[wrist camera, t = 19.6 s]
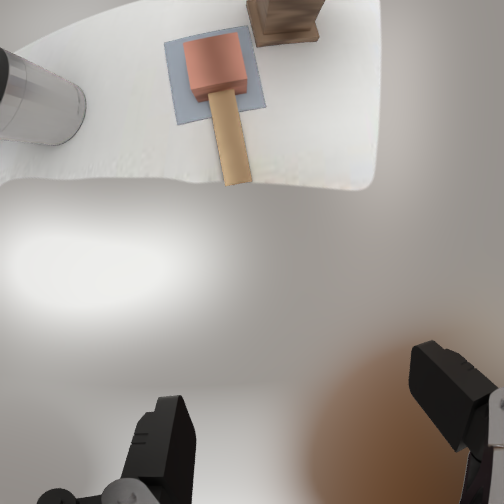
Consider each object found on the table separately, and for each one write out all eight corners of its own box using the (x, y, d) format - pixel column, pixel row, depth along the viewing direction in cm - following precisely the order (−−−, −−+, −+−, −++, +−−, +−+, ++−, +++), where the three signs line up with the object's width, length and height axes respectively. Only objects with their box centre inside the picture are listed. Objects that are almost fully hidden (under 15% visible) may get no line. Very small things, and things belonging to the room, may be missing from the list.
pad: (177, 125, 37) (177, 124, 37) (164, 43, 34) (163, 42, 34) (265, 107, 37) (266, 106, 37) (247, 26, 34) (247, 25, 34)
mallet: (214, 188, 38) (209, 189, 33) (190, 60, 35) (182, 42, 29) (263, 178, 38) (267, 178, 33) (237, 51, 35) (237, 31, 29)
